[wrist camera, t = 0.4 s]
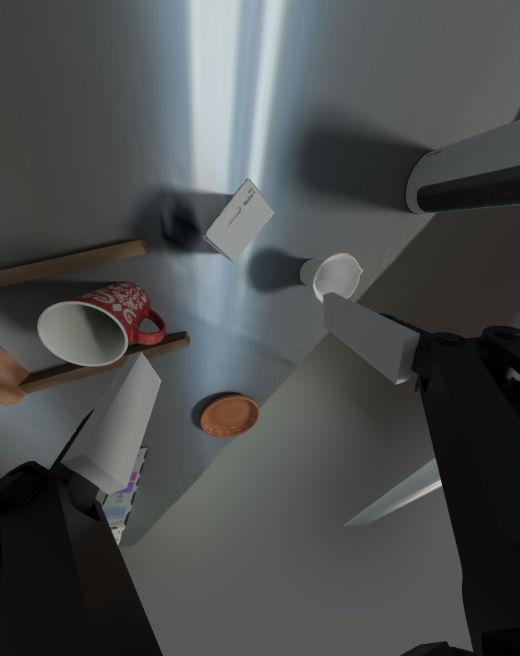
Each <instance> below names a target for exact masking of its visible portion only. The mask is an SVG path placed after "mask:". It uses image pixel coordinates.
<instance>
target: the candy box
mask: <svg viewBox="0 0 520 656" xmlns="http://www.w3.org/2000/svg"><path fill="white" fill-rule="evenodd" d="M147 450H148V448H144V447H140V449H139V452H138V455H137V458H136V461H135V464H134V467H133V470H132V474H131V477H130V480H129V483H128V486H127V488H125V489H122V490H120V491H117V492H114V493H112V494H109V495H108V494H106V497H105V499H104V502H103V504H102V509H103V511H104V513H105V516H106V518H107V521H108V523H109V526H110V528H111V531H112V533H113V535H114V538H115V540H116V543H117V545H119V543H120V540H121V537H122V535H123V532H124V529H125V527H126V524H127V521H128V517H129V514H130V510H131V507H132V504H133V500H134V496H135V493H136V489H137V486H138V482H139V479H140V475H141V472H142V468H143V465H144V461H145V458H146V454H147Z"/></svg>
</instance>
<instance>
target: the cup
mask: <svg viewBox="0 0 520 656" xmlns="http://www.w3.org/2000/svg"><path fill="white" fill-rule="evenodd" d="M362 271H363V270H362V269H361V268H360V267H359V264H358V262H357V261H356V259H355V258H354V257H352V256H351V255H349V254H347V253H336V254H332V255H330V256H328V257H327V258H325V259H323V260H316V259H311V260H308V261H307V262H305V263H304V264H303V266H302V267H301V270H300V280H301V281H302V283H304V284H305V285H307V286H309V287H310V288H311V289H312V290H313V293H314V296H315V297H316V298H317V300H318V301H320V302H321V303H323V295H324V294H327V293H330V292H334V293H336V294H338V295H340V296H342V297H344V298H346V299H348V298H349V297H350V296H351V295H352V293H353V292H354V291H355V289H356V287H357V285H358V282H359V278H360V274H361V273H362Z"/></svg>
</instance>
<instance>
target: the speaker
mask: <svg viewBox="0 0 520 656" xmlns="http://www.w3.org/2000/svg"><path fill="white" fill-rule="evenodd" d="M405 199H406V204H407V206H408V208H409V210H410V211H412V212H414V213H417V214H423V213H434V212H444V211H455V210H466V209H476V208H486V207H498V206H509V205H519V204H520V120H518V121H515V122H512V123H509V124H507V125H504V126H501V127H498V128H496V129H493V130H490V131H487V132H484V133H482V134H479V135H476V136H473V137H471V138H468V139H465V140H462V141H459V142H457V143H454V144H451V145H448V146H445V147H443V148H440V149H437V150H434V151H431V152H429V153H427V154H426V155H424V156H423V157H422V158H421V159H420V161H419V162H418V163H417V164H416V166H415V167H414V169H413V170H412V172H411V174H410V176H409V179H408V182H407V185H406V192H405Z"/></svg>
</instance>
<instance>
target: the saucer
mask: <svg viewBox="0 0 520 656" xmlns="http://www.w3.org/2000/svg"><path fill="white" fill-rule="evenodd" d="M259 414H260V411H259V407H258V405H257V403H256V402H255V401H254V400H253V399H251V398H249V397H247V396H244V395H239V394H231V395H225V396H222V397H220V398H218V399H216V400H214V401H213V402H211V403H210V404H209V405H208V406H207V407H206V408H205V409H204V411H203V413H202V415H201V420H200V423H201V427H202V429H203V430H204V431H205V432H206V433H207V434H209V435H211V436H214V437H219V438H228V437H234V436H237V435H240V434H242V433H244V432H246V431H248V430H249V429H250V428H252V427H253V426H254V424H255V423H256V422H257V420H258V418H259Z"/></svg>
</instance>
